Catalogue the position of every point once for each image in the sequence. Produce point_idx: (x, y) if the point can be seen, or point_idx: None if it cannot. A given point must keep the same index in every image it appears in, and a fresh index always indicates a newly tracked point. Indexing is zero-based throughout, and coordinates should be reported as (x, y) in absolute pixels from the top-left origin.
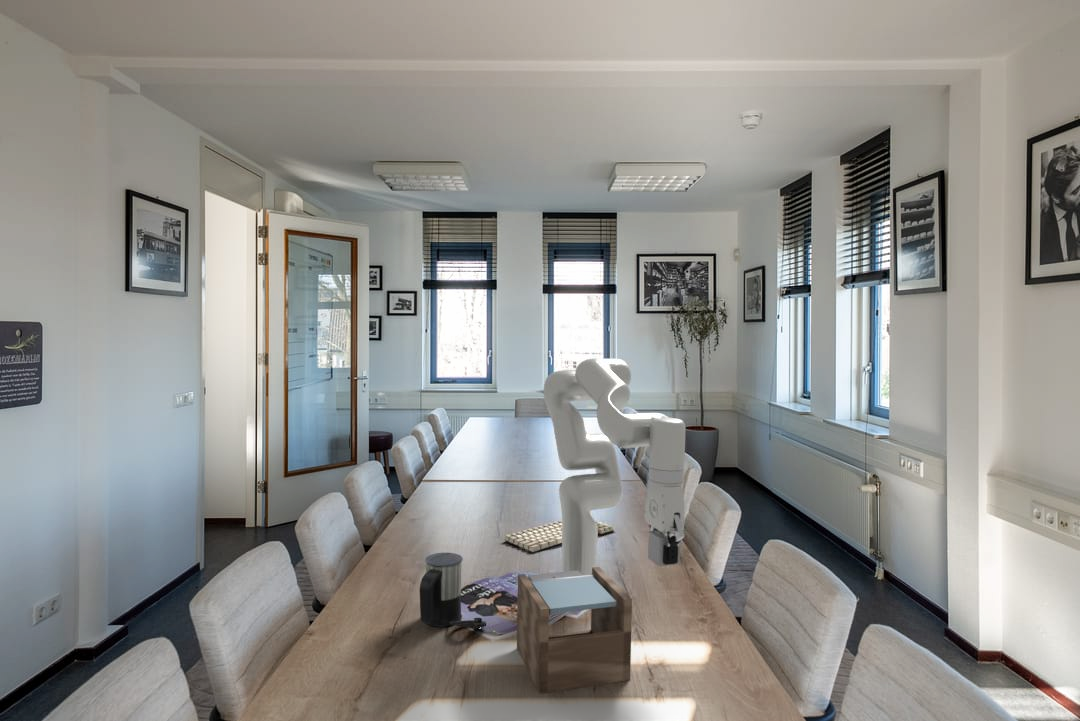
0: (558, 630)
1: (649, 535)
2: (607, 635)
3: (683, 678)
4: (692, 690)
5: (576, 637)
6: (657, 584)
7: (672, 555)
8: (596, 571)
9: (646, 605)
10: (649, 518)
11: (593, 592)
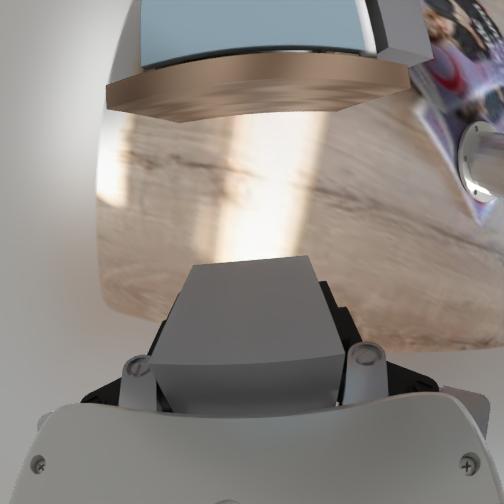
0: None
1: (323, 334)
2: None
3: (173, 213)
4: (141, 214)
5: None
6: (460, 295)
7: None
8: (371, 59)
9: (420, 252)
10: (336, 467)
11: (221, 11)
